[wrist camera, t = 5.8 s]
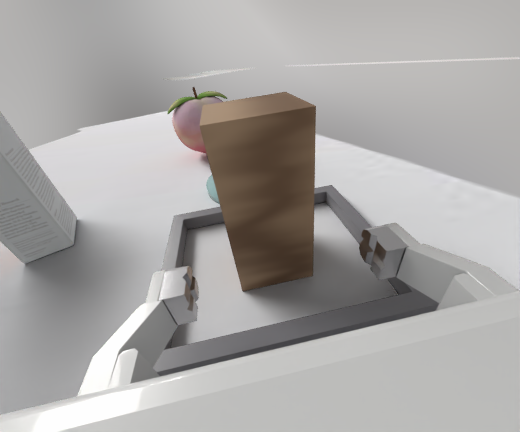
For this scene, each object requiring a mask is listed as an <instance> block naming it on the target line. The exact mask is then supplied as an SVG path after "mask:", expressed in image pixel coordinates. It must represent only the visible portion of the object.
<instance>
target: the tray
mask: <svg viewBox="0 0 520 432" xmlns="http://www.w3.org/2000/svg"><path fill="white" fill-rule="evenodd" d="M322 202H326V203H327V204H328V205H329V206H330V208H331V209H332V210H333V211H334V213H335V214H336V215H337V216H338V218H339V219H340V220H341V221H342V223H343V224H344V225H345V227H346V228H347V229H348V230H349V232H350V233H351V234H352V235H353V237H354V238H355V239H356V240H357V242H358V243H359V244H360V243H361V241H362V240H363V238H362V236H361V235H362V231H363V230H364V229H368V228H372V227H371V226H370V225H369V224H368V223H367V222H366V221H365V220H364V218H363V217H362V216H361V215H360V214H359V213H358V212H357V211H356V210H355V209H354V208H353V207H352V206H351V205H350V204H349V203H348V202H347V201H346V199H345V198H344V197H343V196H342V195H341V194H340V193H339V192H338V191H337V190H336V189H335V188H334V187H333V186H332V185H329V186H324V187H319V188H314V204H317V203H322ZM222 222H224V218H223V214H222V210H221V207H216V208H211V209H206V210H201V211H196V212H191V213H186V214H180V215H175V216H174V218H173V222H172V226H171V231H170V235H169V239H168V243H167V248H166V252H165V256H164V260H163V265H162V269H161V271H164V270H168V269H173V268H179V267H182V263H183V256H184V249H185V241H186V234H187V229H192V228H197V227H202V226H207V225H212V224H217V223H222ZM387 279H388V281H389V282H390V283H391V284H392V286H393V287H394V288H395V289H396V291H397V292H398V293H399V295H396V296H392V297H388V298H383V299H379V300H375V301H371V302H366V303H362V304H358V305H354V306H349V307H345V308H341V309H336V310H332V311H328V312H324V313H319V314H315V315H311V316H307V317H302V318H298V319H294V320H290V321H285V322H281V323H277V324H273V325H268V326H264V327H260V328H256V329H251V330H247V331H243V332H239V333H234V334H230V335H226V336H222V337H217V338H213V339H209V340H205V341H200V342H196V343H192V344H188V345H183V346H179V347H175V348H171V342H172V337H171V339H170V340H169V342H168V343H167V345H166V347H165V348H164V350H163V352H162V353H161V355H160V357H159V358H158V360H157V362H156V363H155V365H154V367H153V369H154V370H155V371H156V372H157V374H158V375H159V376H165V375H169V374H173V373H177V372H181V371H186V370H190V369H194V368H198V367H202V366H207V365H211V364H215V363H219V362H223V361H228V360H232V359H236V358H240V357H244V356H249V355H253V354H257V353H261V352H265V351H269V350H274V349H278V348H282V347H286V346H290V345H295V344H299V343H303V342H307V341H311V340H315V339H320V338H324V337H328V336H332V335H336V334H340V333H345V332H349V331H353V330H357V329H361V328H366V327H370V326H374V325H378V324H382V323H387V322H391V321H395V320H399V319H403V318H407V317H412V316H416V315H420V314H424V313H428V312H433V311H435V310H436V309H437V307H438V305H439V303H438V302H436V301H435V300H433V299H431V298H430V297H428V296H426V295H425V294H423V293H421V292H420V291H418V290H416V289H415V288H413V287H411V286H410V285H408V284H406V283H405V282H403V281H402V280H400V279H398V278H397V277H392V278H387Z"/></svg>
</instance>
